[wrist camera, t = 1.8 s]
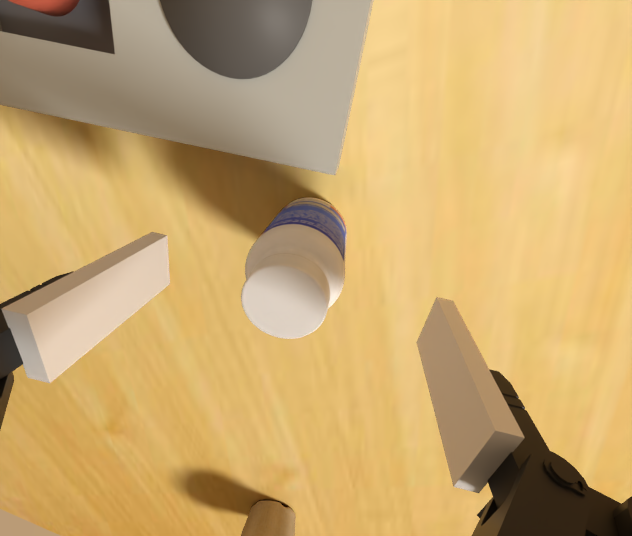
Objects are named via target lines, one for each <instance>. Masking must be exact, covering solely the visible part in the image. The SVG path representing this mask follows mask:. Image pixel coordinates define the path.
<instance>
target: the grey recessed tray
mask: <svg viewBox="0 0 632 536" xmlns="http://www.w3.org/2000/svg"><path fill="white" fill-rule="evenodd" d="M373 1H374V0H79V2H78V4H77V6H76V7H75V8H74V9H73V10H72V11H71V12H70V13H68V14H66V15H64V16H57V17H56V16H49V15H46V14H43V13H40V12H38V11H35V10H32V9H29V8H26V7H24V6H21V5H18V4H15V3H13V2H10V1H8V0H0V105H4V106H9V107H14V108H18V109H23V110H28V111H33V112H37V113H42V114H47V115H52V116H56V117H61V118H66V119H70V120H75V121H80V122H85V123H89V124H94V125H99V126H104V127H108V128H113V129H118V130H123V131H127V132H132V133H137V134H142V135H146V136H151V137H156V138H160V139H165V140H170V141H175V142H179V143H184V144H189V145H194V146H198V147H203V148H208V149H213V150H217V151H222V152H227V153H231V154H236V155H241V156H246V157H250V158H255V159H260V160H265V161H269V162H274V163H279V164H284V165H288V166H293V167H298V168H303V169H307V170H312V171H317V172H321V173H326V174H331V175H335V174H336V172H337V170H338V167H339V163H340V159H341V154H342V149H343V144H344V139H345V135H346V130H347V125H348V120H349V115H350V111H351V106H352V101H353V96H354V92H355V87H356V82H357V77H358V72H359V68H360V63H361V58H362V53H363V48H364V44H365V39H366V34H367V29H368V24H369V20H370V15H371V10H372V5H373Z"/></svg>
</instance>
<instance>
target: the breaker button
mask: <svg viewBox="0 0 632 536" xmlns="http://www.w3.org/2000/svg"><path fill="white" fill-rule="evenodd" d="M8 1H10V2H13V3H15V4H18V5H21V6H24V7H26V8H29V9H32V10H35V11H38V12H40V13H43V14H46V15H49V16H56V17H57V16H64V15H66V14H68V13H70V12H71V11H72V10H73V9H74V8H75V7H76V6H77V4H78V2H79V0H8Z"/></svg>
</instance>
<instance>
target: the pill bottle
mask: <svg viewBox="0 0 632 536" xmlns="http://www.w3.org/2000/svg"><path fill="white" fill-rule="evenodd" d="M346 238H347V231H346V225H345V222H344V219H343V217H342V216H341V214H340V213H339V211H338V210H337V209H336V208H335V207H334V206H332V205H331V204H329V203H328V202H326V201H323V200H321V199H317V198H310V197H307V198H300V199H297V200H294V201H292V202H290V203H289V204H287V205H286V206H285V207H284V208H283V209H282V210H281V211H280V212H279V214H278V215H277V216H276V217H275V218H274V220H273V221H272V222H271V223H270V225H269V226H268V227H267V228H266V229H265V231H264V232H263V233H262V234H261V235H260V237H259V238H258V239H257V240H256V242H255V243H254V244H253V246H252V247H251V249H250V251H249V253H248V256H247V259H246V265H245V275H246V281H245V283H244V285H243V289H242V294H241V300H242V306H243V309H244V311H245V313H246V315H247V317H248V318H249V320H250V321H251V322H252V323H253V324H254V325H255V326H256V327H257V328H259V329H260V330H261V331H263V332H265V333H267V334H269V335H272V336H275V337H279V338H285V339H294V338H300V337H303V336H306V335H308V334H310V333H312V332H314V331H315V330H316V329H317V328H318V327H319V326H320V325H321V324H322V322H323V321H324V319H325V317H326V314H327V310H328V308H329V307H330V306H331V305H333V304H334V302H335V301H336V300H337V298H338V297H339V295H340V293H341V291H342V288H343V284H344V278H345V252H346Z"/></svg>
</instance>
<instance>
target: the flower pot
mask: <svg viewBox="0 0 632 536" xmlns="http://www.w3.org/2000/svg"><path fill="white" fill-rule="evenodd" d="M241 536H295V513H294V512H293V510H292V509H291V508H290V507H287V508H286V507H284V506H283V505H282V504H281V503H280V502H277V501H269V500H264V501H258V502H257V503H256V504H255V505H254V506H252V507H251V510H250V513H249V515H248V518H247V521H246V523H245V526H244V528H243V531H242V534H241Z"/></svg>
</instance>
